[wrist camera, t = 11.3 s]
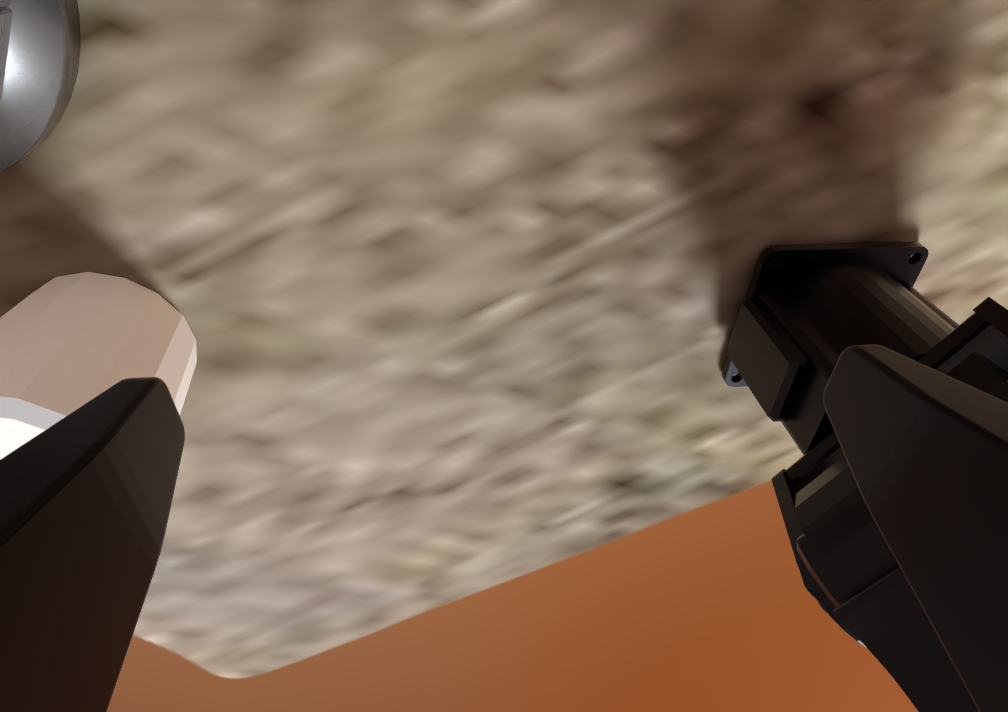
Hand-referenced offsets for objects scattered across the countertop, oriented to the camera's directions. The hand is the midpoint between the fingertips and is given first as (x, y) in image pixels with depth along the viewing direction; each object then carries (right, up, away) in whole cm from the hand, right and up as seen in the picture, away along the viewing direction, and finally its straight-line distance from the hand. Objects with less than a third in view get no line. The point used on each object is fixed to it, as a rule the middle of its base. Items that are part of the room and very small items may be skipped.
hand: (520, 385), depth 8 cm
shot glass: (-14, +1, +14) cm, 20 cm away
